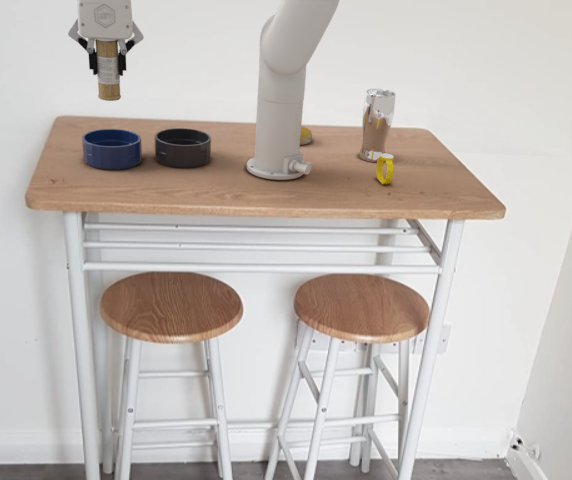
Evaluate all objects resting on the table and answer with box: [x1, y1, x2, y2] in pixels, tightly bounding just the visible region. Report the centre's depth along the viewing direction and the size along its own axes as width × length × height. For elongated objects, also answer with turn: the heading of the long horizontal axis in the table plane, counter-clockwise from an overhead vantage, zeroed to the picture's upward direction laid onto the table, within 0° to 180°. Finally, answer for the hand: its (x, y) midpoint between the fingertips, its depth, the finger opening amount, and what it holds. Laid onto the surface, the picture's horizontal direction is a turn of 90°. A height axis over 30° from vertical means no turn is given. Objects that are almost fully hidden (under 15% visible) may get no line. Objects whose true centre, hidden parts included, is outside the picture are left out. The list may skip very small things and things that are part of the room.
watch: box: [375, 153, 395, 185], centre depth 151 cm, size 6×3×6 cm, turn 16°
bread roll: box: [300, 125, 313, 146], centre depth 171 cm, size 8×9×4 cm
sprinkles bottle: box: [95, 39, 122, 102], centre depth 141 cm, size 5×5×14 cm
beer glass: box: [358, 88, 397, 163], centre depth 162 cm, size 7×7×15 cm
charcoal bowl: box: [153, 127, 212, 169], centre depth 154 cm, size 12×12×5 cm
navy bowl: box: [81, 128, 143, 171], centre depth 150 cm, size 12×12×5 cm
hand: (108, 72), depth 141 cm, fingers closed on sprinkles bottle, 4 cm apart
